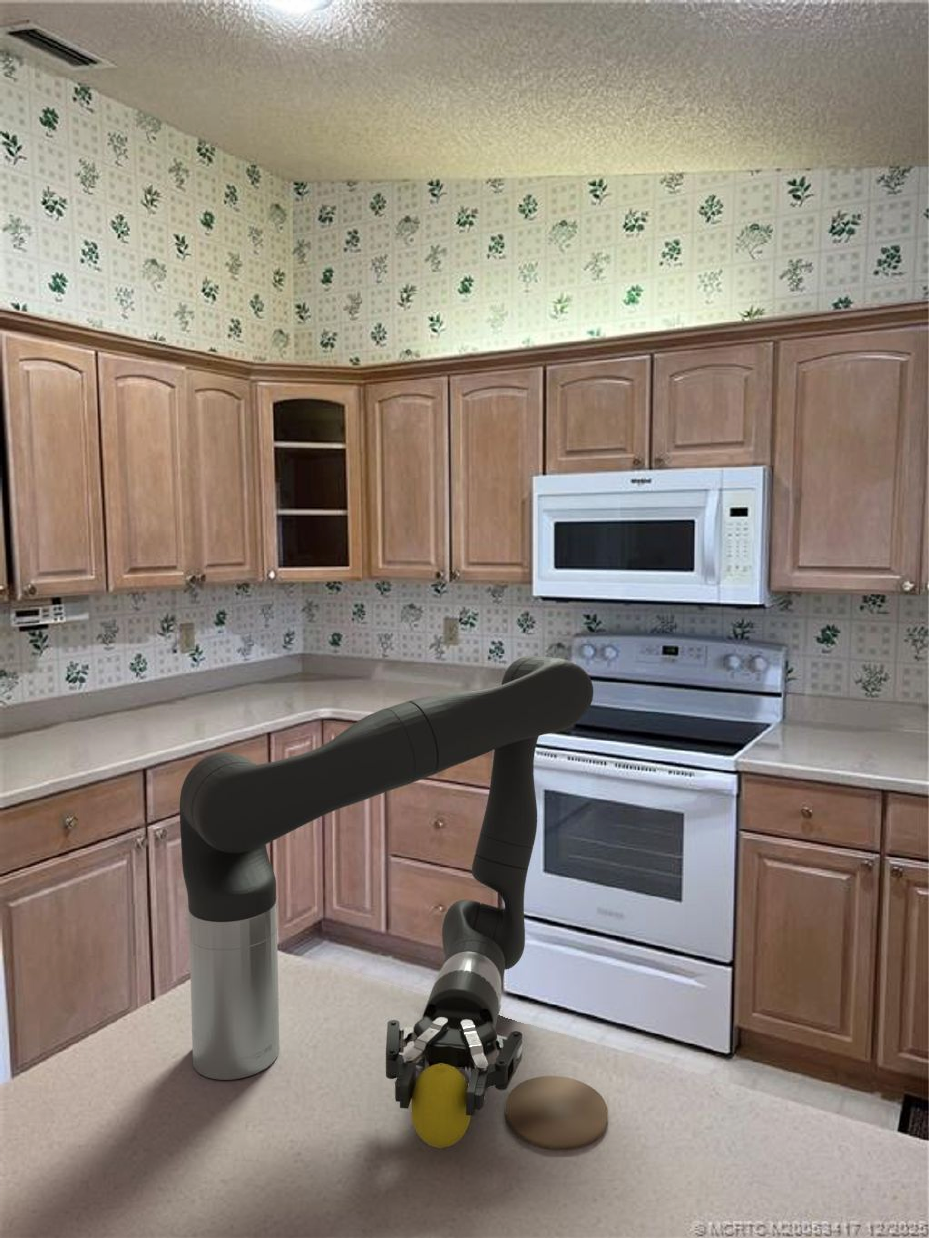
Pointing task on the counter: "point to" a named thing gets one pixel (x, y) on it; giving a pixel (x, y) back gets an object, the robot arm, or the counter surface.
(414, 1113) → the lemon
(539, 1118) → the walnut board
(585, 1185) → the counter surface
